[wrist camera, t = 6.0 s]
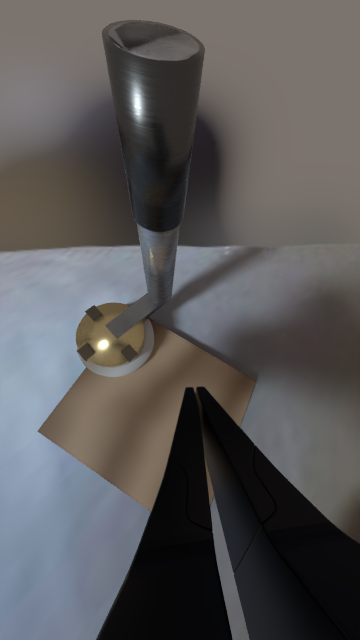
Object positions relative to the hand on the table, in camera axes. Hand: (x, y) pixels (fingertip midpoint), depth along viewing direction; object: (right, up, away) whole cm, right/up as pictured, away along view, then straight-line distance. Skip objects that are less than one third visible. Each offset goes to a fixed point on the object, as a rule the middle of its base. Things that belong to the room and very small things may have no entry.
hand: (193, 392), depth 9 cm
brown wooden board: (-4, -4, +9) cm, 11 cm away
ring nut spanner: (-6, +3, +9) cm, 11 cm away
